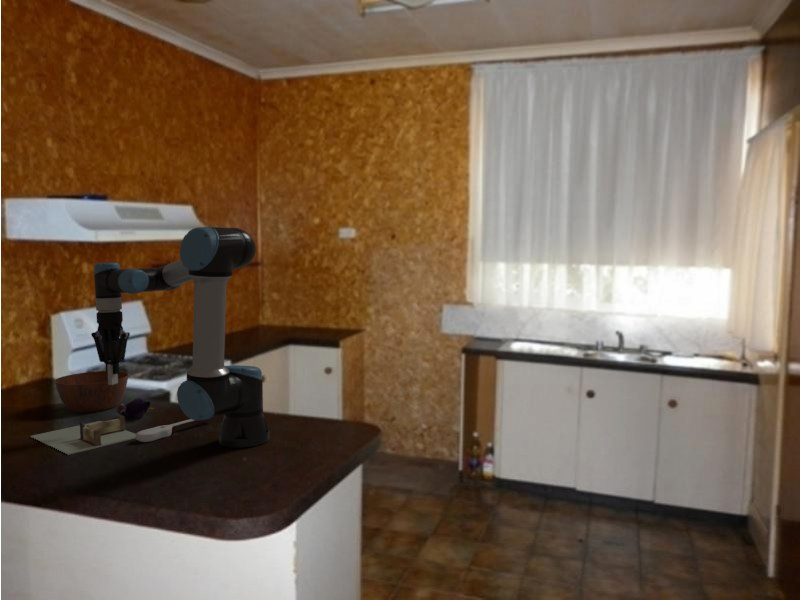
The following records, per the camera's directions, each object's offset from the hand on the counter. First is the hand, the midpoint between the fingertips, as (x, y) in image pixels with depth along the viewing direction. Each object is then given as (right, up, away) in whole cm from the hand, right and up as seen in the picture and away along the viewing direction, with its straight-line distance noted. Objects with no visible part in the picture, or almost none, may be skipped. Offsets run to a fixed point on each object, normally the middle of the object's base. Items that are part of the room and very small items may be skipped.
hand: (113, 383), depth 202 cm
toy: (+1, -15, +18) cm, 23 cm away
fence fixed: (-2, -17, -11) cm, 20 cm away
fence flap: (-1, -15, -3) cm, 15 cm away
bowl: (-23, -14, +34) cm, 43 cm away
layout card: (-7, -16, -4) cm, 18 cm away
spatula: (+21, -16, 0) cm, 26 cm away
